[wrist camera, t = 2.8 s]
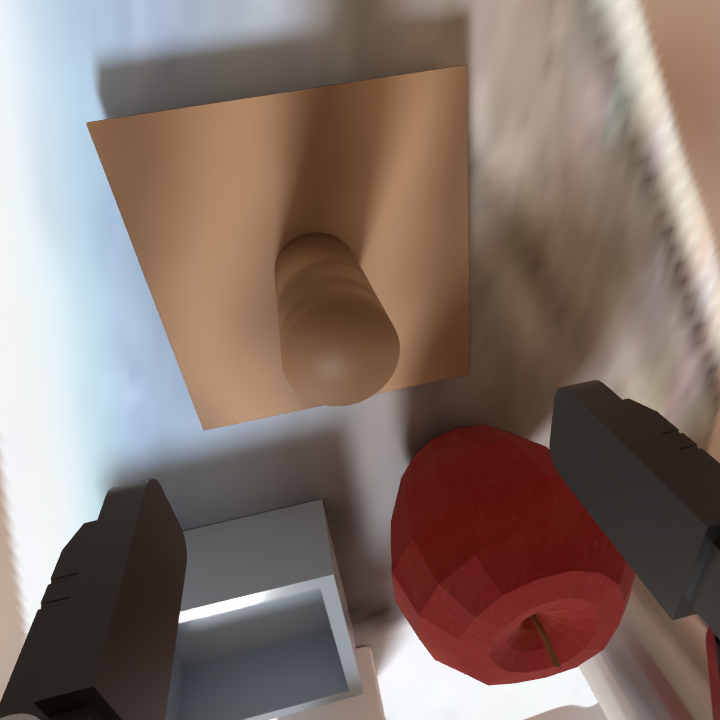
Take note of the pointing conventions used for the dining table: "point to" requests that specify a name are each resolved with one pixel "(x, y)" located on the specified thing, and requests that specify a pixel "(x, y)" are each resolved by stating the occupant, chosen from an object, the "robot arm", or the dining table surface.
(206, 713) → the grey open box
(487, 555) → the apple
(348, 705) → the medicine bottle
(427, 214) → the lid
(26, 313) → the dining table surface
